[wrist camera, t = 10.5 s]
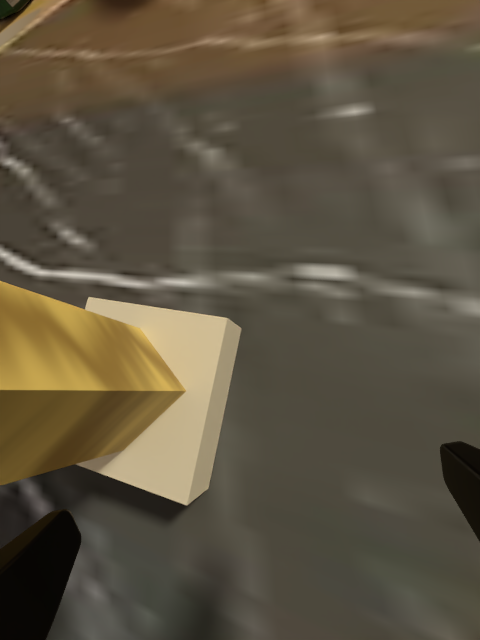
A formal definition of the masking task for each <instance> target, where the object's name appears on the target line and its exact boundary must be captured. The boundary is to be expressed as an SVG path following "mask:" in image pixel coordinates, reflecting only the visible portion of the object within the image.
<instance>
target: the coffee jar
mask: <svg viewBox="0 0 480 640" xmlns="http://www.w3.org/2000/svg"><path fill="white" fill-rule="evenodd" d="M28 2H29V0H0V19H4V18H5V17H7V16H9V15H11V14H13V13H17V12H18V11H20V10H21V9H22V8H23V7H24V6H25V5H26V4H27V3H28Z"/></svg>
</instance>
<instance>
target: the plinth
mask: <svg viewBox="0 0 480 640" xmlns="http://www.w3.org/2000/svg"><path fill="white" fill-rule="evenodd" d="M85 310H87V311H90V312H93V313H96V314H99V315H102V316H105V317H108V318H111V319H114V320H117V321H120V322H123V323H126V324H129V325H132V326H135V327H138V328H140V329H141V330H142V332H143V333H144V334H145V336H146V337H147V338H148V340H149V341H150V342H151V344H152V345H153V347H154V348H155V349H156V351H157V352H158V353H159V355H160V356H161V357H162V359H163V360H164V361H165V363H166V364H167V365H168V367H169V368H170V370H171V371H172V372H173V374H174V375H175V376H176V378H177V379H178V380H179V382H180V383H181V384H182V386H183V387H184V388H185V390H186V392H185V393H184V394H183V395H182V396H181V397H179V398H178V399H177V400H176V401H175V402H174V403H173V404H172V405H171V406H170V407H169V408H168V409H167V410H166V411H165V412H164V413H162V414H161V415H160V416H159V417H158V418H157V419H156V420H155V421H154V422H153V423H152V424H151V425H150V426H149V427H148V428H147V429H145V430H144V431H143V432H142V433H141V434H140V435H139V436H138V437H137V438H136V439H135V440H134V441H133V442H132V443H131V444H130V445H128V446H127V447H126V448H125V449H124V450H123V451H119V452H116V453H112V454H109V455H105V456H102V457H98V458H95V459H91V460H88V461H84V462H81V463H77V464H76V465H79V466H81V467H84V468H87V469H89V470H92V471H95V472H98V473H100V474H103V475H106V476H108V477H111V478H114V479H116V480H119V481H122V482H125V483H127V484H130V485H133V486H135V487H138V488H141V489H144V490H146V491H149V492H152V493H154V494H157V495H160V496H162V497H165V498H168V499H171V500H173V501H176V502H179V503H181V504H184V505H188V504H190V503H191V502H192V501H193V500H195V499H196V498H197V497H198V496H200V495H201V494H202V493H203V492H204V491H206V490H207V489H208V488H209V483H210V478H211V474H212V469H213V464H214V459H215V454H216V449H217V444H218V440H219V435H220V430H221V425H222V420H223V415H224V411H225V406H226V401H227V396H228V391H229V386H230V381H231V377H232V372H233V367H234V362H235V357H236V352H237V348H238V343H239V338H240V333H241V328H240V327H239V326H238V325H236V324H235V323H233V322H232V321H231V320H229V319H228V318H223V317H217V316H210V315H203V314H197V313H190V312H184V311H177V310H170V309H164V308H157V307H151V306H144V305H137V304H131V303H124V302H118V301H111V300H104V299H98V298H91V297H89V298H88V301H87V304H86V308H85Z"/></svg>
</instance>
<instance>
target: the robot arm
mask: <svg viewBox="0 0 480 640" xmlns="http://www.w3.org/2000/svg"><path fill="white" fill-rule="evenodd" d="M440 455H441V463H442V471H443V477H444V480H445V483H446V485H447V487H448V489H449V491H450V492H451V494H452V496H453V498H454V499H455V501H456V503H457V504H458V506H459V508H460V509H461V511H462V513H463V514H464V516H465V518H466V519H467V521H468V523H469V524H470V526H471V528H472V529H473V531H474V533H475V535H476V536H477V538H478V540H479V541H480V449H478V448H476V447H473V446H471V445H469V444H467V443H464V442H461V441H457V442H451V443H445V444H442V445H441V447H440ZM80 545H81V533H80V531H79V529H78V526H77V524H76V522H75V520H74V518H73V515H72V513H71V512H70V511H69V510H67V509H63V510H57V511H52V512H50V513H49V514H47V515H46V516H44V517H43V518H42V519H40V520H39V521H38V522H36V523H35V524H34V525H32V526H31V527H30V528H28V529H27V530H26V531H24V532H23V533H22V534H20V535H19V536H18V537H16V538H15V539H14V540H12V541H11V542H9V543H8V544H7V545H5V546H4V547H3V548H1V549H0V640H46V638H47V635H48V633H49V631H50V628H51V626H52V623H53V621H54V618H55V615H56V613H57V610H58V607H59V605H60V602H61V599H62V596H63V593H64V590H65V588H66V585H67V582H68V579H69V576H70V573H71V571H72V568H73V565H74V562H75V559H76V556H77V554H78V551H79V548H80Z"/></svg>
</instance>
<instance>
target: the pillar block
mask: <svg viewBox="0 0 480 640" xmlns="http://www.w3.org/2000/svg"><path fill="white" fill-rule="evenodd" d="M185 392H186V390H185V388H184V387H183V386H182V384H181V383H180V382H179V380H178V379H177V378H176V376H175V375H174V374H173V372H172V371H171V370H170V368H169V367H168V365H167V364H166V363H165V361H164V360H163V359H162V357H161V356H160V355H159V353H158V352H157V351H156V349H155V348H154V347H153V345H152V344H151V342H150V341H149V340H148V338H147V337H146V336H145V334H144V333H143V332H142V330H141V329H140V328H138V327H135V326H132V325H129V324H126V323H123V322H120V321H117V320H114V319H111V318H108V317H105V316H102V315H99V314H96V313H93V312H90V311H87V310H84V309H81V308H79V307H76V306H73V305H70V304H67V303H64V302H61V301H58V300H55V299H52V298H49V297H46V296H43V295H40V294H37V293H34V292H31V291H28V290H25V289H22V288H19V287H16V286H13V285H10V284H7V283H4V282H1V281H0V485H4V484H7V483H11V482H14V481H18V480H21V479H25V478H28V477H32V476H35V475H39V474H42V473H46V472H49V471H53V470H56V469H60V468H63V467H67V466H70V465H74V464H77V463H81V462H84V461H88V460H91V459H95V458H98V457H102V456H105V455H109V454H112V453H116V452H119V451H123V450H124V449H125V448H126V447H127V446H128V445H130V444H131V443H132V442H133V441H134V440H135V439H136V438H137V437H138V436H139V435H140V434H141V433H142V432H143V431H144V430H145V429H147V428H148V427H149V426H150V425H151V424H152V423H153V422H154V421H155V420H156V419H157V418H158V417H159V416H160V415H161V414H162V413H164V412H165V411H166V410H167V409H168V408H169V407H170V406H171V405H172V404H173V403H174V402H175V401H176V400H177V399H178V398H179V397H181V396H182V395H183V394H184V393H185Z"/></svg>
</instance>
